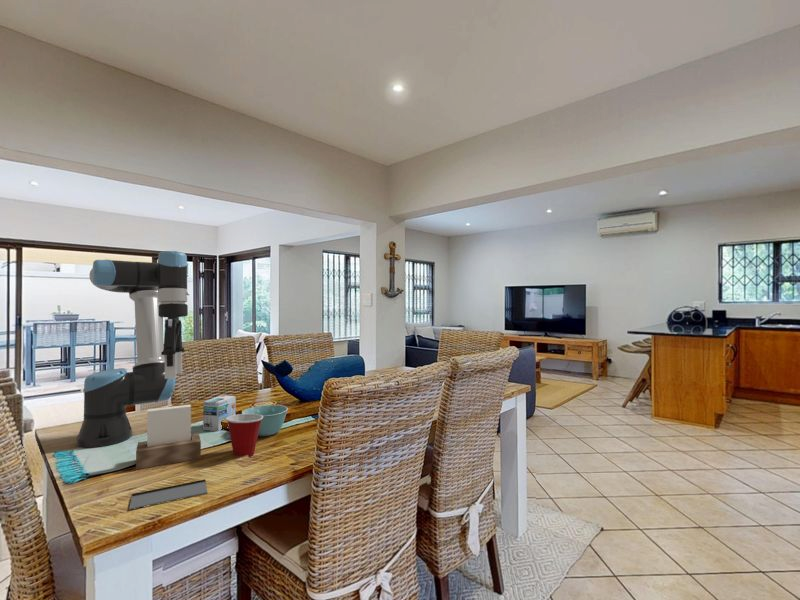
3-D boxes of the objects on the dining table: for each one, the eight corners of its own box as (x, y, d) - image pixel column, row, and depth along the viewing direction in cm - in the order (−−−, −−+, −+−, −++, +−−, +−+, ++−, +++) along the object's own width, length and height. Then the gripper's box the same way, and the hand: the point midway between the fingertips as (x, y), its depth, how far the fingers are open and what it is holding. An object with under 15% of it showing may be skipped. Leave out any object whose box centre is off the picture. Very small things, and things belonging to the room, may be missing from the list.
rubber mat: (129, 510, 90) (129, 508, 90) (135, 476, 108) (135, 475, 108) (207, 493, 98) (207, 491, 98) (201, 464, 116) (201, 463, 116)
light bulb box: (218, 432, 144) (218, 402, 144) (202, 431, 145) (202, 401, 145) (236, 423, 155) (236, 395, 155) (220, 422, 156) (221, 394, 156)
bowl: (233, 433, 143) (233, 410, 143) (272, 423, 155) (272, 402, 155) (255, 443, 133) (256, 419, 133) (296, 432, 145) (296, 409, 145)
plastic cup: (270, 451, 126) (270, 413, 126) (244, 464, 116) (244, 423, 116) (244, 446, 130) (245, 409, 130) (217, 458, 120) (217, 418, 120)
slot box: (135, 473, 110) (136, 451, 110) (137, 462, 117) (137, 442, 117) (200, 461, 118) (200, 441, 118) (198, 452, 125) (198, 433, 125)
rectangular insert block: (147, 464, 113) (147, 411, 113) (147, 461, 116) (147, 409, 116) (190, 456, 119) (191, 406, 119) (190, 453, 121) (190, 404, 121)
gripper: (182, 300, 108) (183, 379, 107) (191, 305, 131) (192, 370, 130) (150, 300, 105) (150, 382, 104) (165, 306, 128) (165, 372, 127)
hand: (173, 375), depth 117 cm, fingers open, 13 cm apart
